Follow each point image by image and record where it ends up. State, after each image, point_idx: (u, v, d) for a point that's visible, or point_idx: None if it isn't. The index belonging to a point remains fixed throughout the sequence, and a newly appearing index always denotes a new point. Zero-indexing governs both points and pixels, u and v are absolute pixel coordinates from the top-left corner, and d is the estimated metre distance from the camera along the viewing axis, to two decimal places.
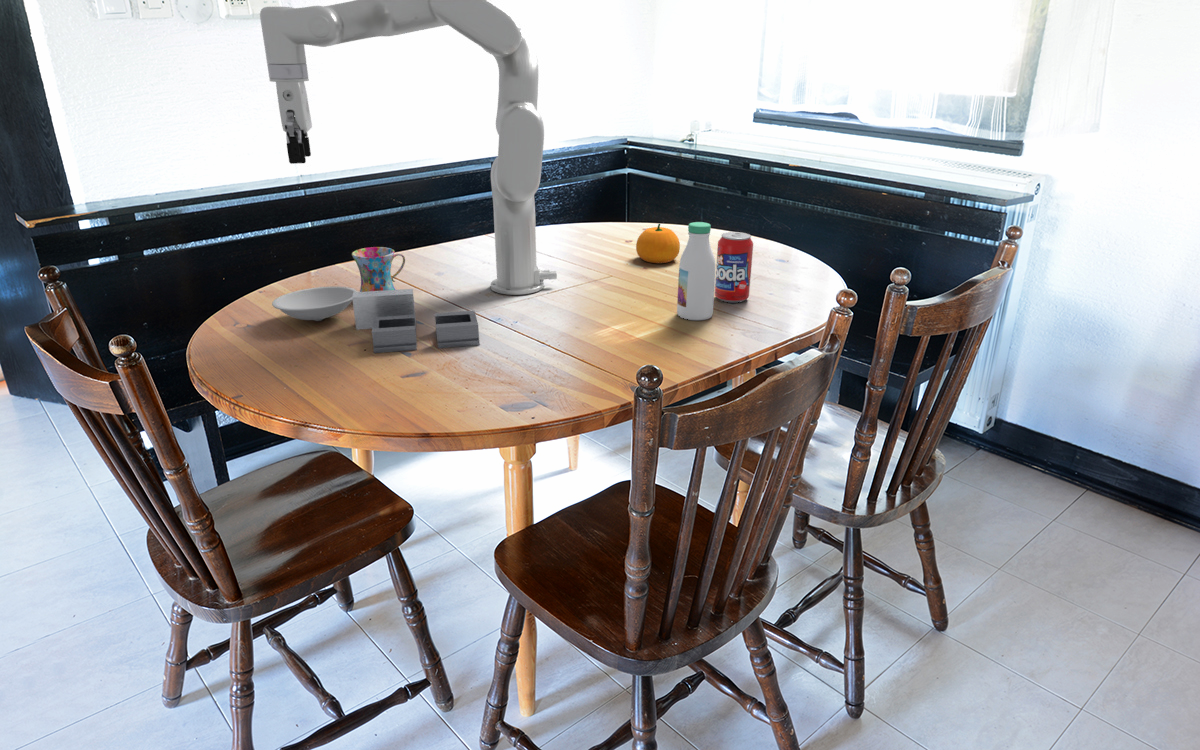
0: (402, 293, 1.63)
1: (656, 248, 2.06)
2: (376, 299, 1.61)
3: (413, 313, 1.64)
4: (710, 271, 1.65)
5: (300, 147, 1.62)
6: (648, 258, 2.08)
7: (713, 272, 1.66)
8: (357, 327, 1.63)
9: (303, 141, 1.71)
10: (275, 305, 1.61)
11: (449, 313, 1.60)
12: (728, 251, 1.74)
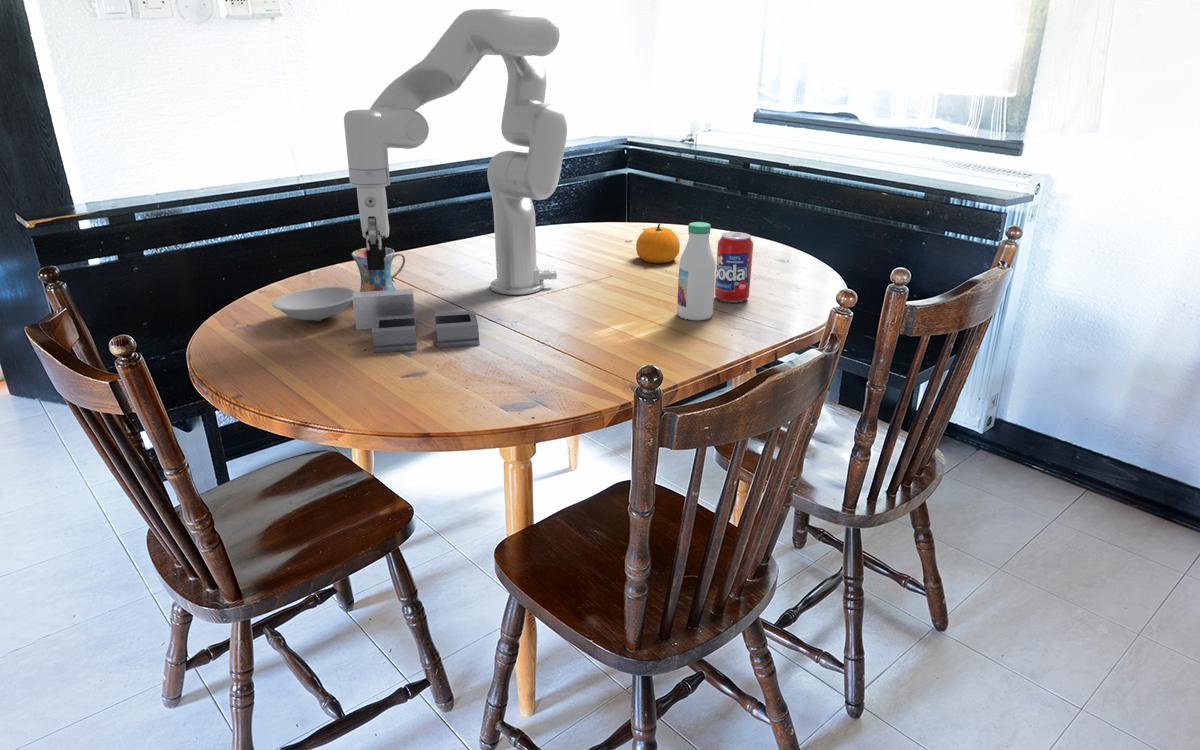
0: (402, 293, 1.63)
1: (656, 248, 2.06)
2: (376, 299, 1.61)
3: (413, 313, 1.64)
4: (710, 271, 1.65)
5: (380, 254, 1.54)
6: (648, 258, 2.08)
7: (713, 272, 1.66)
8: (357, 327, 1.63)
9: None
10: (275, 305, 1.61)
11: (449, 313, 1.60)
12: (728, 251, 1.74)
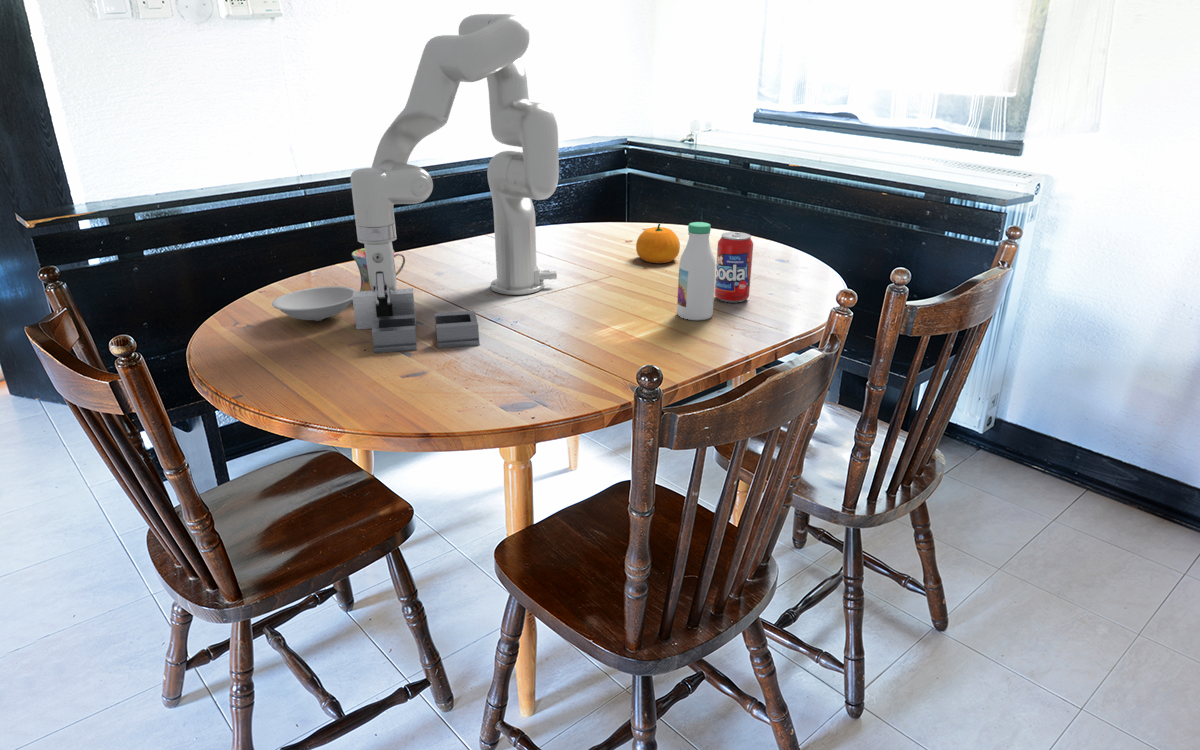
0: (402, 292, 1.63)
1: (656, 248, 2.06)
2: None
3: (413, 312, 1.64)
4: (710, 271, 1.65)
5: (389, 308, 1.62)
6: (648, 258, 2.08)
7: (713, 272, 1.66)
8: (357, 326, 1.63)
9: None
10: (275, 305, 1.61)
11: (449, 313, 1.60)
12: (728, 251, 1.74)
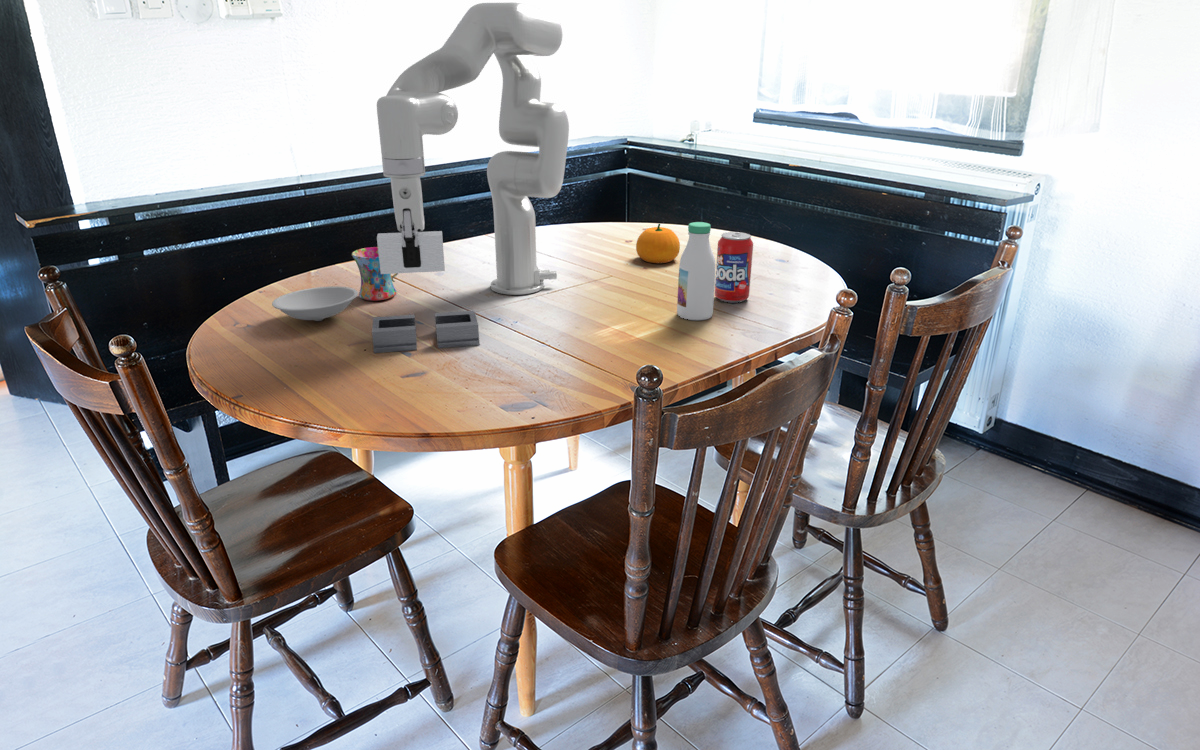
0: (430, 234, 1.50)
1: (656, 248, 2.06)
2: None
3: (442, 257, 1.52)
4: (710, 271, 1.65)
5: (416, 251, 1.50)
6: (648, 258, 2.08)
7: (713, 272, 1.66)
8: (382, 271, 1.50)
9: None
10: (275, 305, 1.61)
11: (449, 313, 1.60)
12: (728, 251, 1.74)
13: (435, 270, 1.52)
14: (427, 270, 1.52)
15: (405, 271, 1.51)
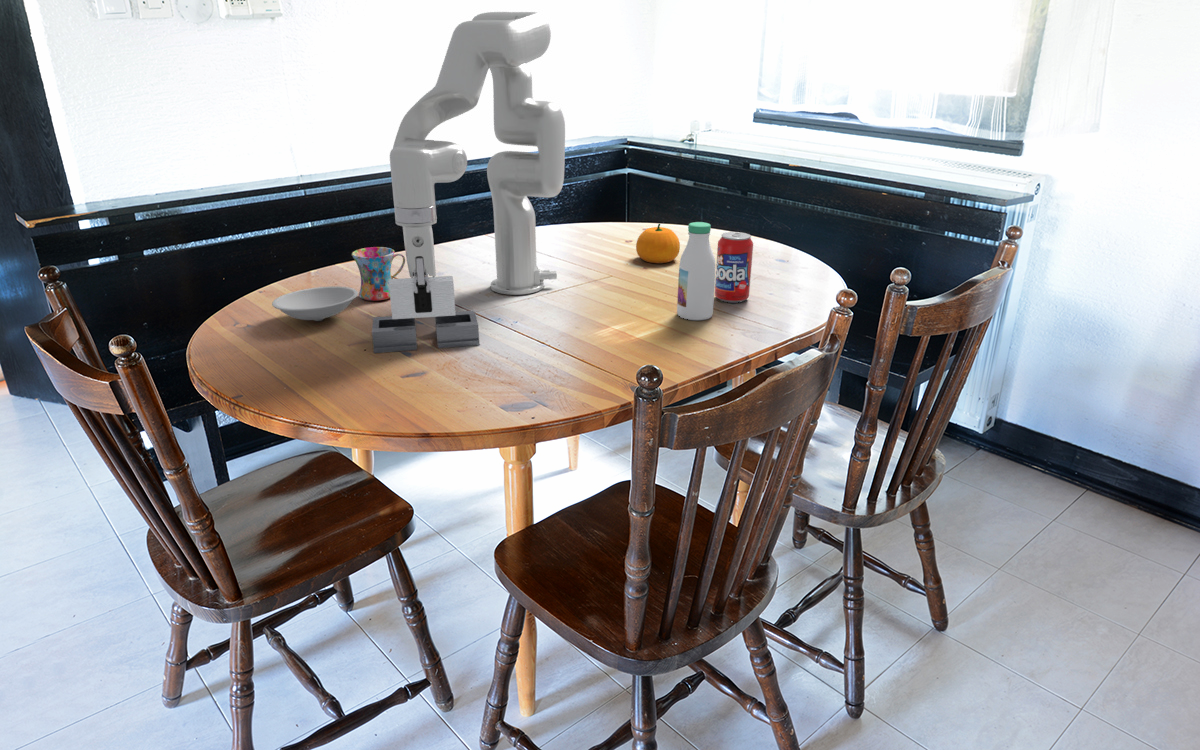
0: (442, 280, 1.52)
1: (656, 248, 2.06)
2: None
3: (453, 301, 1.54)
4: (710, 271, 1.65)
5: (427, 296, 1.51)
6: (648, 258, 2.08)
7: (713, 272, 1.66)
8: (393, 316, 1.52)
9: None
10: (275, 305, 1.61)
11: None
12: (728, 251, 1.74)
13: (446, 314, 1.54)
14: (438, 314, 1.54)
15: (416, 315, 1.53)
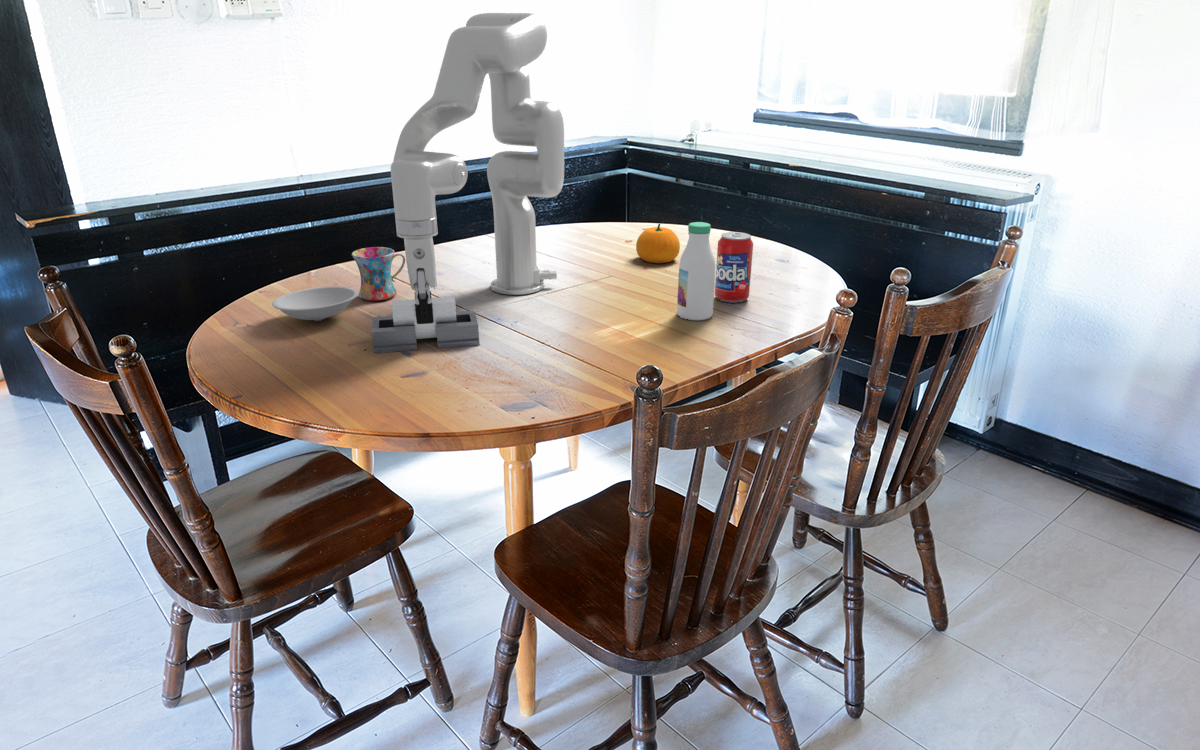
0: (444, 301, 1.54)
1: (656, 248, 2.06)
2: None
3: (455, 322, 1.56)
4: (710, 271, 1.65)
5: (429, 307, 1.51)
6: (648, 258, 2.08)
7: (713, 272, 1.66)
8: None
9: None
10: (275, 305, 1.61)
11: None
12: (728, 251, 1.74)
13: None
14: None
15: (419, 336, 1.55)
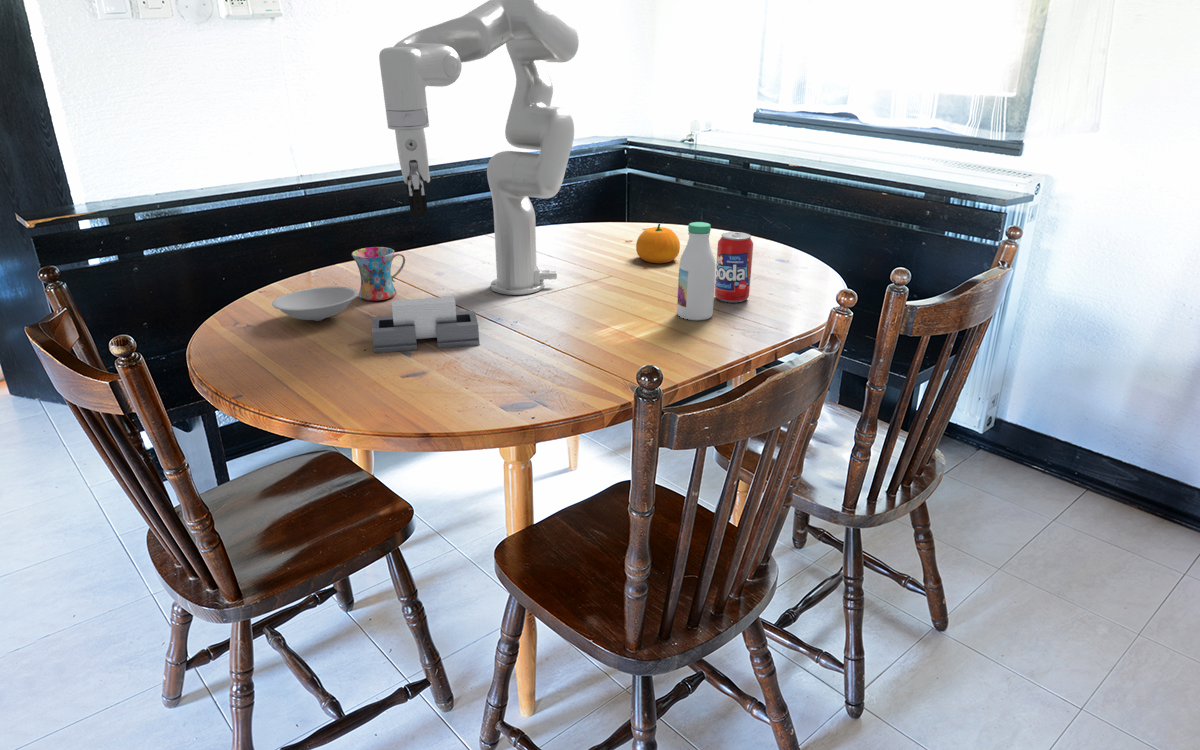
0: (444, 301, 1.54)
1: (656, 248, 2.06)
2: (417, 308, 1.53)
3: (455, 322, 1.56)
4: (710, 271, 1.65)
5: (423, 199, 1.49)
6: (648, 258, 2.08)
7: (713, 272, 1.66)
8: None
9: None
10: (275, 305, 1.61)
11: None
12: (728, 251, 1.74)
13: None
14: None
15: (419, 336, 1.55)
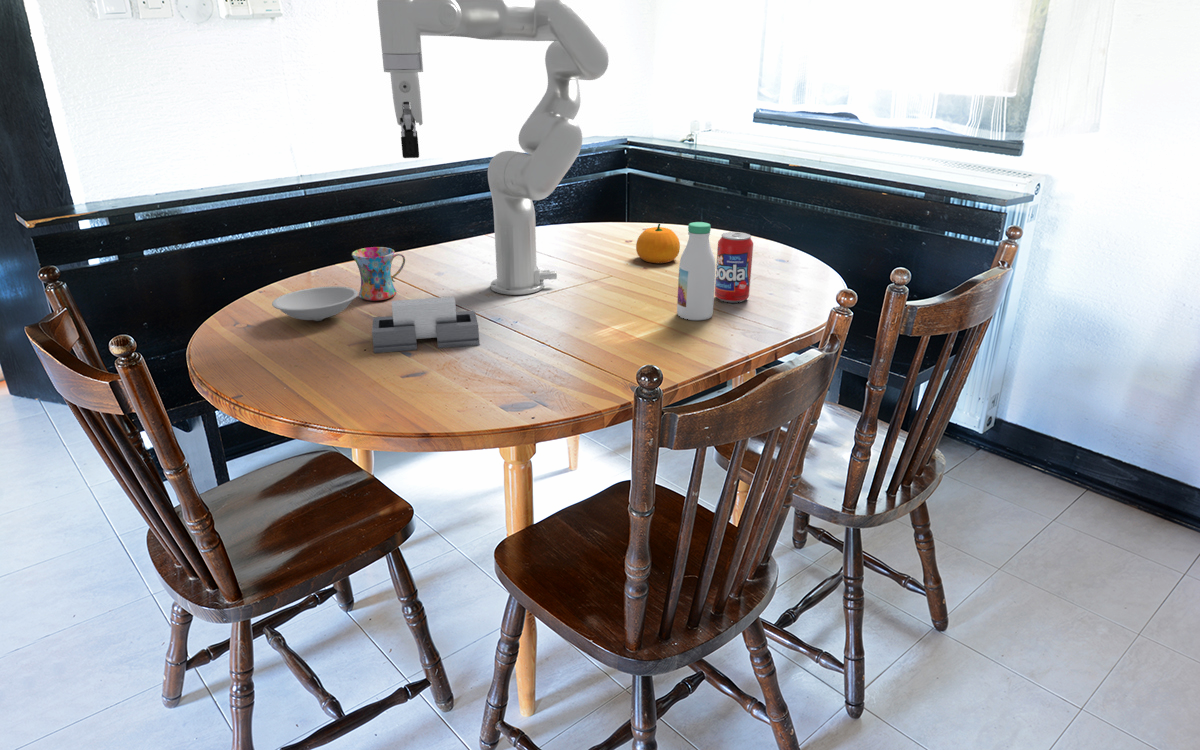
0: (444, 301, 1.54)
1: (656, 248, 2.06)
2: (417, 308, 1.53)
3: (455, 322, 1.56)
4: (710, 271, 1.65)
5: (414, 141, 1.55)
6: (648, 258, 2.08)
7: (713, 272, 1.66)
8: None
9: None
10: (275, 305, 1.61)
11: None
12: (728, 251, 1.74)
13: None
14: None
15: (419, 336, 1.55)
